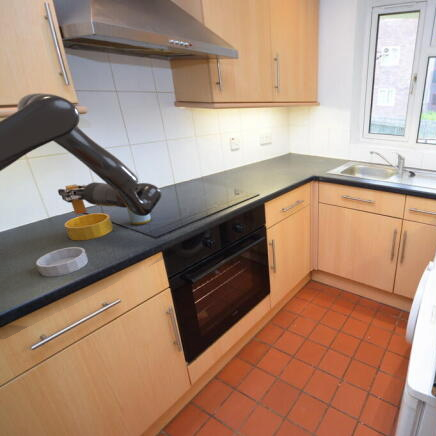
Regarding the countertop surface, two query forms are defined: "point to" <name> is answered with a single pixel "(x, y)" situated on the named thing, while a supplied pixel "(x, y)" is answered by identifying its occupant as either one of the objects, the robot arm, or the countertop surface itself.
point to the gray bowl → (62, 261)
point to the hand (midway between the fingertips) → (67, 190)
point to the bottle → (138, 218)
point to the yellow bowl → (88, 226)
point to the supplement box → (77, 202)
